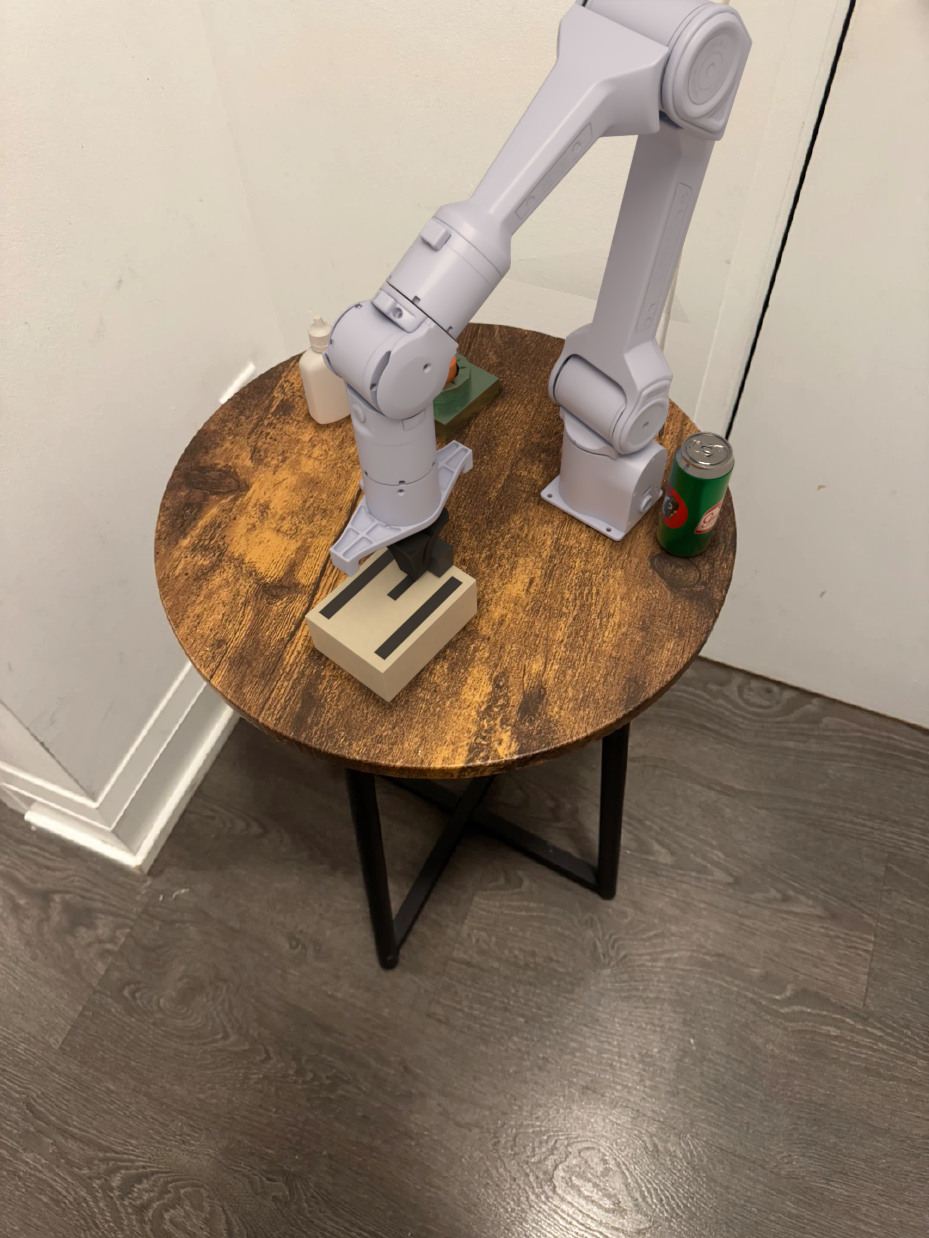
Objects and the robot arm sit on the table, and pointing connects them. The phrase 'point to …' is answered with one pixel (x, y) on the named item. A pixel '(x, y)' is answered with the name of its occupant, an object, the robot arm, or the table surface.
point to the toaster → (390, 621)
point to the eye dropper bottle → (322, 378)
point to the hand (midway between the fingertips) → (412, 569)
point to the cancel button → (452, 369)
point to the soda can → (695, 493)
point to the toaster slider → (440, 558)
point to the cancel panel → (463, 397)
